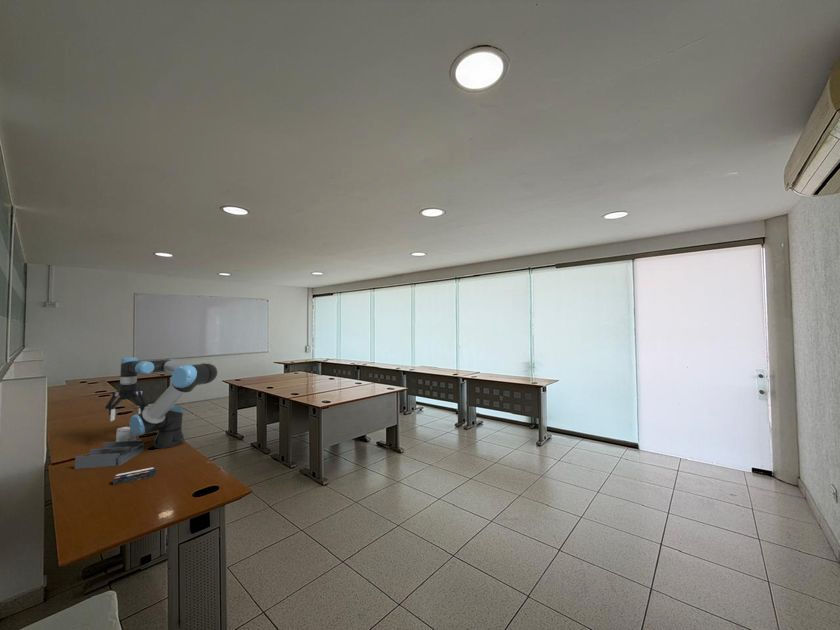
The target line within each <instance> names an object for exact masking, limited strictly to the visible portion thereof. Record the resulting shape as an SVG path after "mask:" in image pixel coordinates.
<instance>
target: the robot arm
mask: <svg viewBox="0 0 840 630" xmlns="http://www.w3.org/2000/svg"><path fill="white" fill-rule="evenodd" d="M155 373H169V374H171V376H170V382H171V383H170V385H169V386H168V387H167V388H166V390H165V391H164V392H163V393H162V394H161V395H160V396H159V397H158V398H157V399H156V400H155V401H154V403H152V405H151V406H149V403H148V401H147V398H146V397H145V396H144V393H143V390H139V391H137V387H138V384H137V382H138V375H141V376H142V375H149V374H155ZM217 376H218V368H217V367H216V366H215V365H213V364H212V363H205V362H203V363H198V364H197V363H192V362H191V363H190V362H183V361H176V360H174V359H172V358H171V359H169V358H168V359H167V358H166V359H157V360H155V359H154V360H144V361H141V360H139V359H138V357H131V356H130V357H123V358H122V359H121V363H120V376H119V377H120V378H119V383H120V385H119V392H118V391H115V392H112V395H111V398H110V399H109V401H108V402H107V404H106V405H105V407H104V408H105V409H106V410H108V416H110V422H113V421H115V420H116V407H117V405H119V404H120V402H122V401H124V400H132V401H133V402H134V403H136V405H137V406H138V407H139V408H138V413H136V414H133V415H132V416H131V417H130V418H129V421H128V422H129V426H128V427H130V430H131V432H132V433H133V434H135V435H136V436H143V435H145V434H149V433H153V432H157V435H156V436H155V439H154V442H153V447H154V448H155V449H168V448H173V447H177V446H180V445H182V444H184V443H185V436H184V433H183V430H182V429H183V428H182V427H183V414H184V410H183V406H181V405H176V404H177V403H178V401H180V400H181V399H182V397H183V396H185V394H186V393H190V392H192V391H193V390H194V389H195V388H196V387H197V386H200V385H206V384H211V382H213V381H214V380H216V377H217ZM136 395H137V396H138V397H137V396H136ZM118 396H119V397H118ZM117 397H118V398H117ZM116 398H117V400H116ZM115 400H116V401H115ZM181 439H182V440H183V441H184V442H183V441H182V440H181Z"/></svg>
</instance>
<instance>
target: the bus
mask: <svg viewBox="0 0 840 630" xmlns="http://www.w3.org/2000/svg"><path fill="white" fill-rule="evenodd" d="M156 472H158V469H157V468H156V467H155V466H154V467H147V468H142V469H138V470H132V471H127V472H122V473H118V474H114V475H113V480H112V486H116V485H121V484H125V483H131V482H136V481H139V480H145V479H149V478H153V477H156V475H157V473H156Z"/></svg>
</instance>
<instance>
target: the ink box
mask: <svg viewBox="0 0 840 630" xmlns="http://www.w3.org/2000/svg"><path fill="white" fill-rule="evenodd" d="M135 440H137V435H135V434H133V433H132V432H131V430H130V426H124V427H123V426H122V427H119V428H116V434H115V442H119V441H135Z"/></svg>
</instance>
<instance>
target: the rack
mask: <svg viewBox="0 0 840 630" xmlns="http://www.w3.org/2000/svg"><path fill="white" fill-rule="evenodd" d="M143 441H144V440H143V439H140V440H139V439H138V440H137V439H136V440H135V441H119V442H116V441H106V442H103V448H90V449H89V451H88V452H89V453H88V455H86V454H85V455H76V456H74V457H75V458H74V470H79V469H92V468H93V469H94V468H106V467H108V468H109V467H117V466H118V467H119V466H121V465H124V464H125V463H127V462H128V461H130V460H131V459H133V458H135V457H136V456H138V455H139V454H141V453H142V452H144V450H145V449H144V448H145V443H144V442H143Z"/></svg>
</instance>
